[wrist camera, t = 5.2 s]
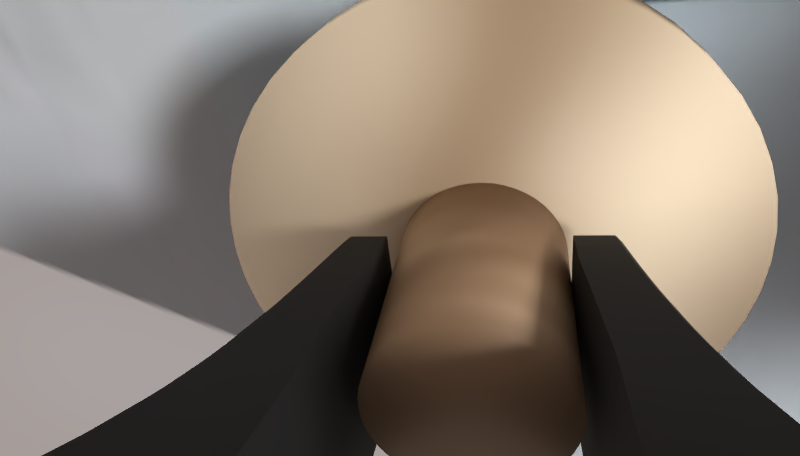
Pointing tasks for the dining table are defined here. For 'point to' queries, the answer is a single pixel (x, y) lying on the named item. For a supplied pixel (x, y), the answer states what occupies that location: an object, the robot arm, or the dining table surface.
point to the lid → (501, 198)
